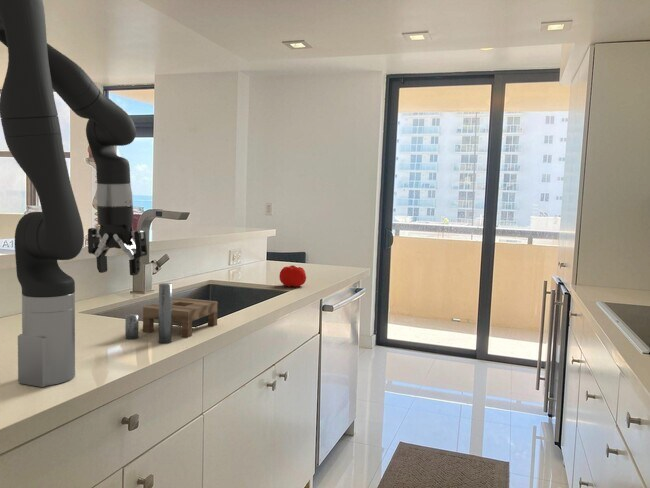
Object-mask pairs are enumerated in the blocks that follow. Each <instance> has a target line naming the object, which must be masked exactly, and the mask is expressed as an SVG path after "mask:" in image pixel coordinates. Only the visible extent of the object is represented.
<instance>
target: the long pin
mask: <svg viewBox="0 0 650 488" xmlns="http://www.w3.org/2000/svg"><path fill="white" fill-rule="evenodd" d="M172 299H173V284H172V283H170V282H165V283H164V282H162V283H159V284H158V303H159V320H158V335H157V336H158V337H157V338H158V344H161V345H163V344H164V345H165V344H171V343H172V335H173V334H172V328H173V327H172V323H173V322H172Z"/></svg>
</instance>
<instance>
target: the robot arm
mask: <svg viewBox="0 0 650 488" xmlns="http://www.w3.org/2000/svg"><path fill="white" fill-rule="evenodd" d="M46 25H47V24H46V14H45V6H44V2H43V0H0V42H1V43H2V44H3V45H4V46H5V47H7V53H8V62H7V68H6V74H5V78H4V81H3V84H2V87H1V92H0V122H1V127H2V130H3V136H4V140H5V143H6V145H7V148H8V151H9V153H10V155H12V157H13V159H14V160H15V161H16V163H17V164H18V165H19V167H20V168H21V169H22V171H23V172H24V174H26V176H27V178H28V179H29V180H30V182H31V183H32V185H33V187H34V189H35V191H36V194H37V196H38V200H39V203H40V208H41V211H32V212H28V213H25V214H23V216H22V217H21V218H20V219H19V221H18V222H17V225H16V227H15V231H14V253H15V254H14V255H15V257H14V258H15V269H16V277H17V280H18V282H19V285H20V287H21V334H18V335H17V379H18V380H17V382H18V384H23V385H28V386H33V387H40V388H44V387H47V386H52V385H58V384H62V383H65V382H68V381H70V380H73V379H74V377H75V376H76V333H75V332H76V323H75V322H76V314H75V313H76V297H75V295H76V292H75V291H76V287H75V286H76V284H75V279H74V278H73V276H71V275H69V274H67V273H66V272H65V271H63V270H62V268H61V267H60V266H59V263H58V261H70V260H73V259H75V258H76V257H78V255H79V254H80V253H81V252H82V249H83V246H84V242H85V235H84V233H85V232H84V227H83V222H82V218H81V217H82V216H81V215H80V212H79V207H78V204H77V201H76V198H75V194H74V191H73V188H72V184H71V178H70V175H69V174H70V173H69V171H68V170H69V169H68V164H67V161H66V156H65V150H64V144H63V135H62V131H61V124H60V118H59V116H58V115H59V114H58V110H57V105H56V101H55V95H54V92H55V93H56V94H57V95H58V96H59V97H60V98H61V99H62V100H63V101H64V103H65V104H66V105H67V106H68V108H70V109H71V111H73V113H74V114H75V115H77V116H78V117H80V118H82V119H85V120H86V119H87V122H86V125H85V126H86V127H85V135H86V139H87V144H88V146H89V149H90V152H91V155H92V158H93V161H94V163H95V168H96V169H95V170H96V172H95V173H96V208H97V209H96V210H97V212H96V213H97V223H98V225H100V226H99V227H98V226H97V227H90V228H88V229H87V247H88V248H87V252H88V254H91V255H94V256H95V257H96V269H97V271H98V273H99V274H100V273H101V274H103V273H106V272H108V255H107V253H108V252H109V250H110V249H113V248H115V249H120V250H122V251H123V252H124V253H126V255H127V256H128V257H129V260H128V264H129V275H130V276H137V275H138V274H139V273H140V270H141V267H140V266H141V265H140V259H141V258H143V257H146V256H147V255H148V247H147V235H146V234H147V233H146V230H145V229H139V230H134V229H133V225H134V224H133V223H134V206H133V205H134V204H133V191H132V185H131V168H130V162H129V160H128V159H127V158H125V157H123V156H119V155H117V152H116V150H115V148H114V147H118V146H119V147H120V146H121V147H124V146H129V145H130V144H132V143H133V142H134V140H135V138H136V135H137V129H136V124H135V123H134V120H133V119H132V118H131V115H129V113H127V111H125V110H124V109H123V108H122V107H120V106H119V105H118V104H117V103H115V102H114V101H113V100H112V99H111V98H109V97H108V96H106V95H105V94H104V93H102V91H101V89H100V88H99V87H98V86H97V85H96V83H95V82H94V81H93V80H92V79H91V77H90V76H89V75H88V73H87V72H86V71H85V70H84V69H83V68H82V67H81V66H80V65H79V64H77V63H76V62H75V61H73V60H72V59H70V58H69V57H68V56H67V55H65V54H63V53H62V52H60V51H59V50H58V49H57V48H55V47H53V46H52V45H51V44H49V43H48V42H47V41H48V40H47V28H46ZM100 239H101V240H100Z"/></svg>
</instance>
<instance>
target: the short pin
mask: <svg viewBox="0 0 650 488" xmlns="http://www.w3.org/2000/svg"><path fill="white" fill-rule="evenodd" d="M124 319H125V320H124V321H125V326H124V327H125V332H124V333H125V340H137V339H138V338H139V321H140V320H139V314H137V313H129V314H126V315H125V317H124Z"/></svg>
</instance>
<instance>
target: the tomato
mask: <svg viewBox="0 0 650 488" xmlns="http://www.w3.org/2000/svg"><path fill="white" fill-rule="evenodd" d="M278 277H279V281H280V283H281V284H282V285H283V286H285V287H287V286H288V288H293V287H294V288H298V287H300V286H302V285H304V284H305V283H306V281H307V275H306V272H305V269H304V268H303V267H301V266H299V267H298V266H296V265H294V264H293V265H292V264H291V265H288V266H284V267H283V268H281V270H280V272H279V276H278ZM291 286H292V287H291Z"/></svg>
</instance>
